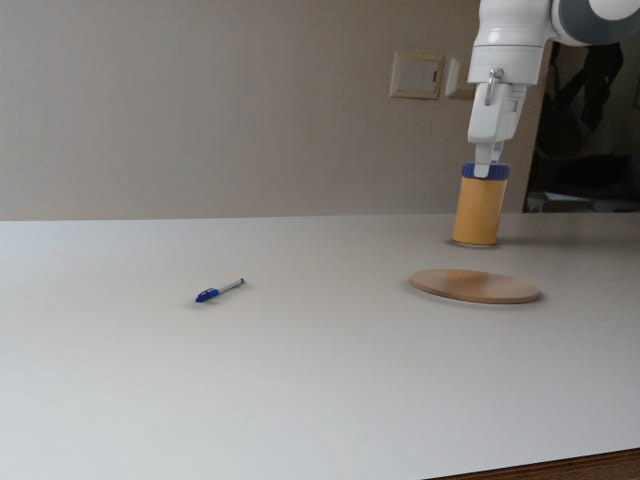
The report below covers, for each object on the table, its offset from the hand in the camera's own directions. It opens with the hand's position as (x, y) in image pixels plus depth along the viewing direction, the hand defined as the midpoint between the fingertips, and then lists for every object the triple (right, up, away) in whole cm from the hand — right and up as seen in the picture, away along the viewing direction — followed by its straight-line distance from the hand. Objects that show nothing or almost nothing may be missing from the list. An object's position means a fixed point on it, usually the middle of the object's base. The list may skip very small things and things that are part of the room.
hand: (484, 174), depth 105 cm
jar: (0, -9, +3) cm, 9 cm away
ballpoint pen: (-40, -20, -29) cm, 54 cm away
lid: (0, +1, -1) cm, 1 cm away
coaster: (-12, -18, -25) cm, 33 cm away
